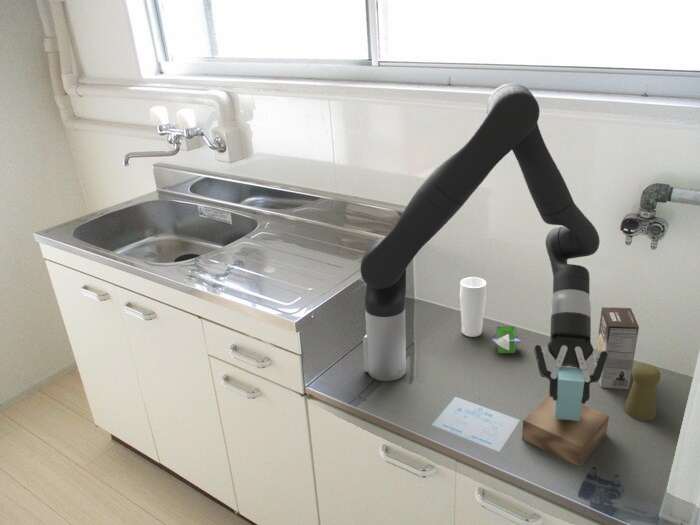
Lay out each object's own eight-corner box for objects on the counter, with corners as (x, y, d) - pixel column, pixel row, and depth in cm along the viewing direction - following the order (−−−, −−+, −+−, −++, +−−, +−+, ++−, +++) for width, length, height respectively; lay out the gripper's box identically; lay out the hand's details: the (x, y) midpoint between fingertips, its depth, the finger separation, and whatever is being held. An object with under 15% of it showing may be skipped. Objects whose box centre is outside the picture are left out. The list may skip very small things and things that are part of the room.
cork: (629, 399, 129) (636, 356, 125) (659, 409, 125) (667, 365, 121) (620, 413, 125) (627, 369, 120) (651, 424, 121) (659, 379, 117)
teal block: (554, 418, 115) (558, 379, 112) (553, 404, 119) (557, 366, 116) (579, 421, 114) (584, 382, 111) (577, 406, 118) (582, 368, 115)
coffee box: (593, 365, 142) (600, 305, 135) (621, 367, 140) (630, 307, 134) (600, 388, 133) (608, 325, 127) (630, 390, 132) (640, 327, 126)
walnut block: (521, 440, 119) (523, 420, 117) (550, 411, 127) (552, 392, 125) (579, 468, 111) (582, 447, 109) (606, 436, 119) (609, 415, 117)
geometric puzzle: (488, 333, 154) (492, 320, 147) (515, 332, 153) (520, 319, 146) (491, 359, 150) (496, 347, 143) (519, 358, 150) (525, 346, 143)
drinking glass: (465, 341, 155) (467, 289, 149) (454, 329, 161) (455, 279, 155) (489, 336, 156) (491, 285, 150) (477, 324, 162) (479, 275, 156)
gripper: (534, 307, 118) (531, 394, 112) (612, 313, 114) (612, 402, 108) (532, 318, 125) (529, 400, 119) (605, 324, 121) (605, 408, 115)
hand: (569, 401), depth 114 cm, fingers closed on teal block, 4 cm apart
